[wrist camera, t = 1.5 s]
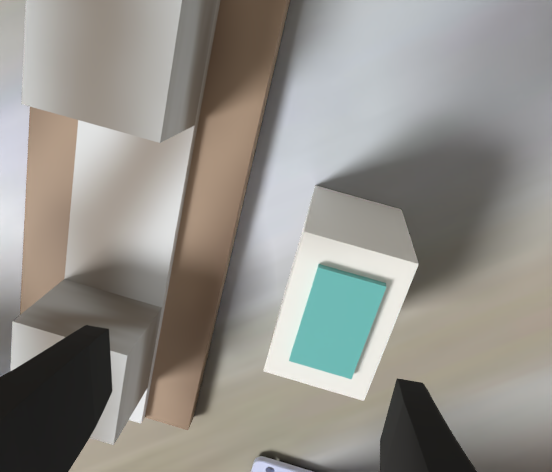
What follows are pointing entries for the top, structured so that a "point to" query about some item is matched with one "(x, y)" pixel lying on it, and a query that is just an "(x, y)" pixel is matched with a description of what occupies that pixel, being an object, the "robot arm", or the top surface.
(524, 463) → the top surface
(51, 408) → the robot arm
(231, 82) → the board
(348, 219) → the block
